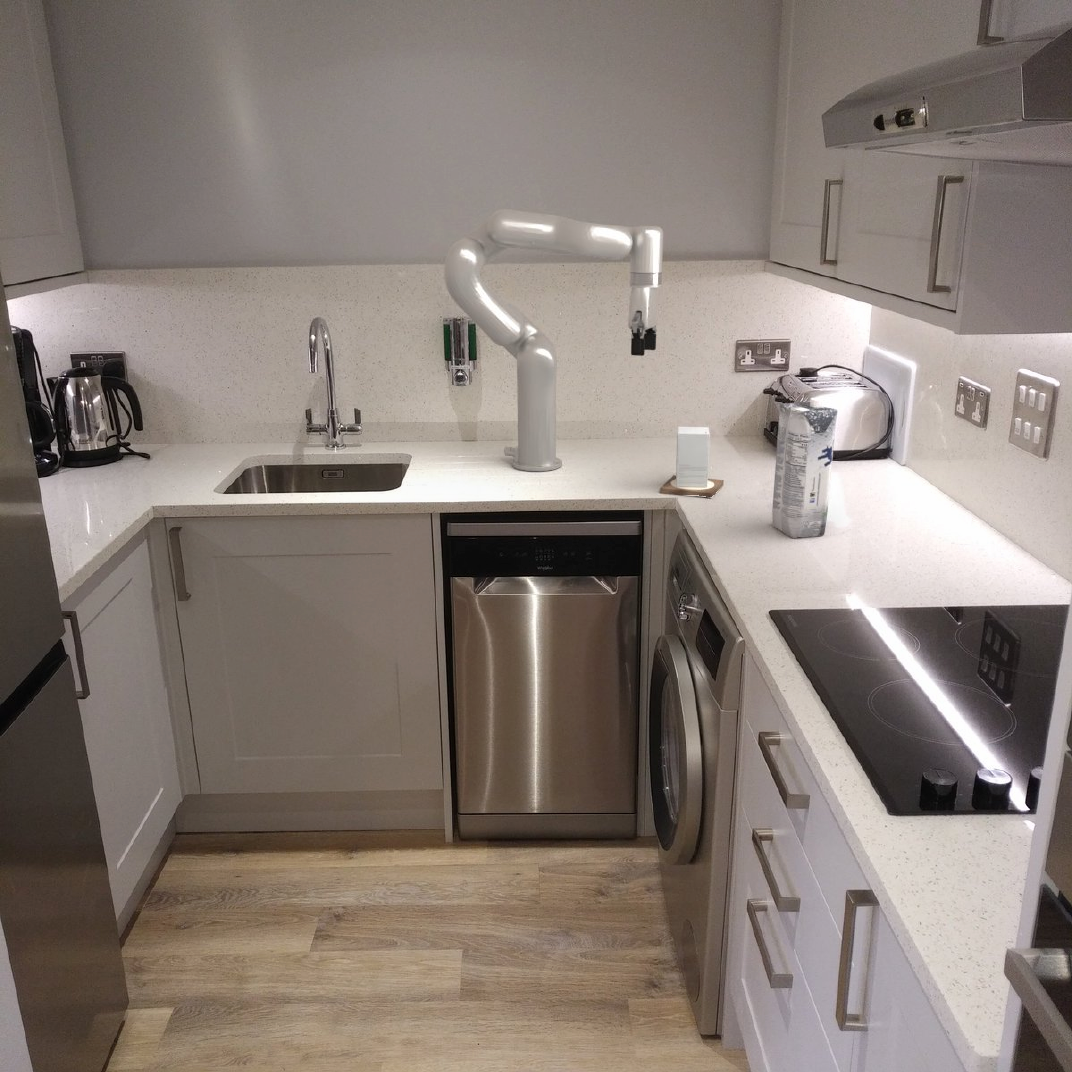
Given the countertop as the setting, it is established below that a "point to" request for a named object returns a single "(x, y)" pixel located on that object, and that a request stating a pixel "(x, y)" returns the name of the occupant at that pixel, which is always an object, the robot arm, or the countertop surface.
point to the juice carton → (803, 467)
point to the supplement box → (692, 456)
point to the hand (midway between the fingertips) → (643, 352)
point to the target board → (691, 488)
